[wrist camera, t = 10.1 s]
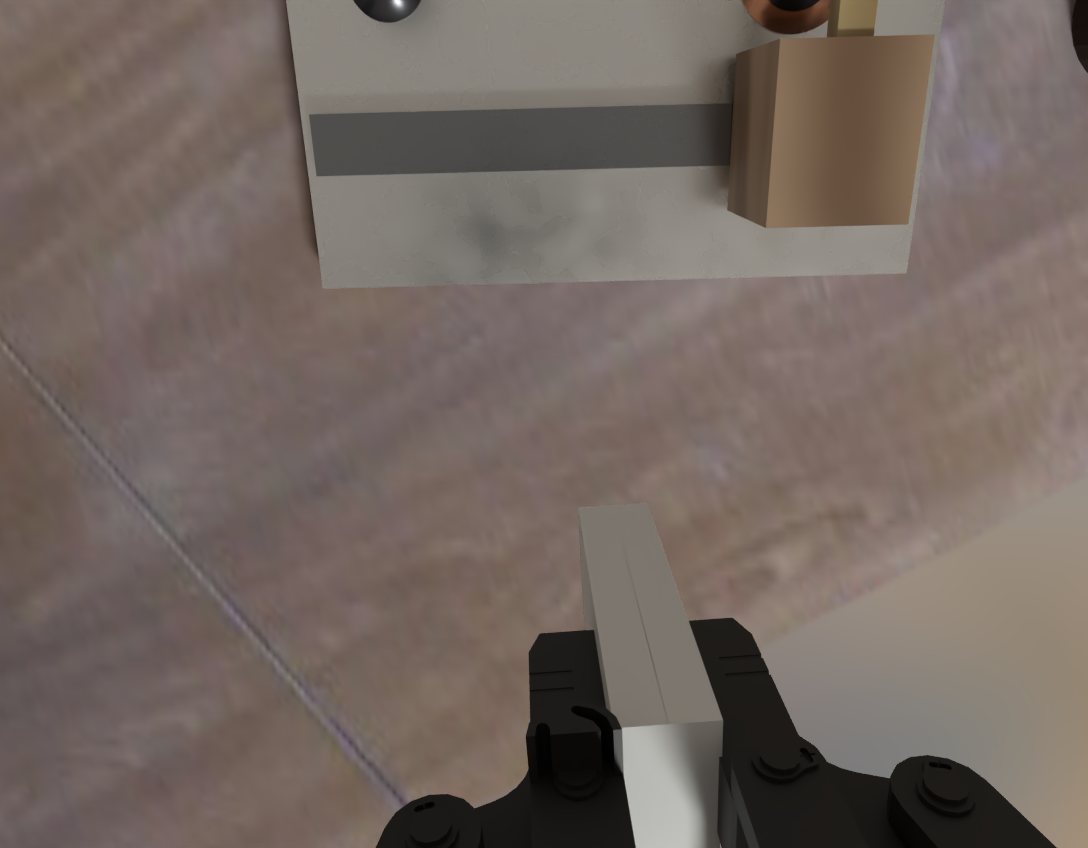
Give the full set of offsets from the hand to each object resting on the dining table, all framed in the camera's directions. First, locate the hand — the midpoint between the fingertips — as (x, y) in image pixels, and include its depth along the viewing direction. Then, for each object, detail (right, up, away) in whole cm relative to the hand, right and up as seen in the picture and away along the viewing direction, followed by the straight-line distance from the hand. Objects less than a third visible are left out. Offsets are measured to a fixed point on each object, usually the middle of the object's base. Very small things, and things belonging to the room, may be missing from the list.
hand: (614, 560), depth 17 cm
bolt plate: (+1, +17, +16) cm, 24 cm away
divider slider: (+9, +17, +14) cm, 23 cm away
